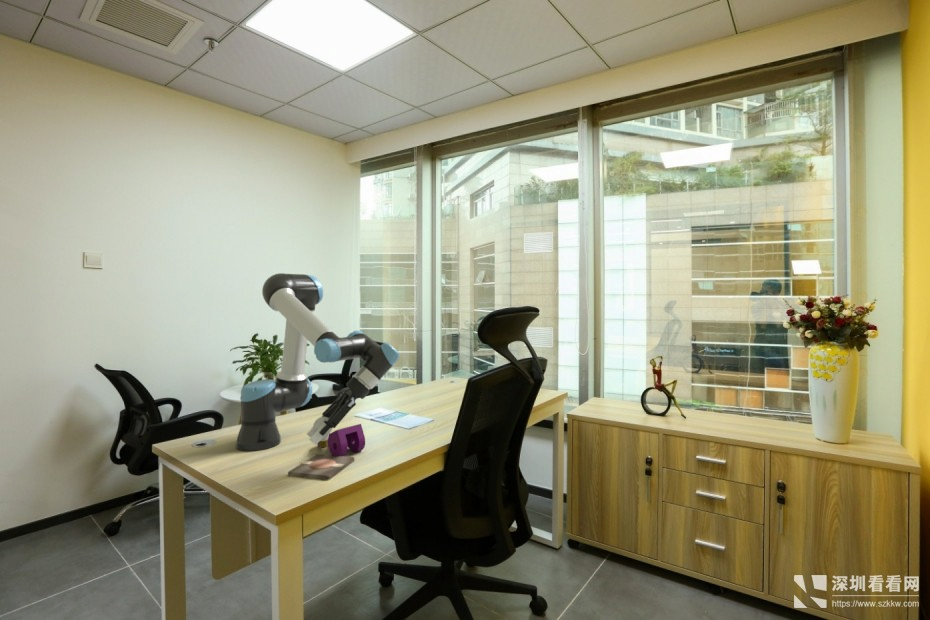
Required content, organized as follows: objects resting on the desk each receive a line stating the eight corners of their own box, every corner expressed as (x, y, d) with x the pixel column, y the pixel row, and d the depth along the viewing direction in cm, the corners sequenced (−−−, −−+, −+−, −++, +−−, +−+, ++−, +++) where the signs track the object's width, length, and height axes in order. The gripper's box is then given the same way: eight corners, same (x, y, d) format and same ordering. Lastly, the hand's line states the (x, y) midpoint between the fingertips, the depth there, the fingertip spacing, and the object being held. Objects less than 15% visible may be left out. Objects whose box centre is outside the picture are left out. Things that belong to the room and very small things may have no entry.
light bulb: (310, 448, 141) (309, 417, 140) (327, 443, 145) (327, 413, 145) (318, 452, 136) (318, 420, 136) (336, 447, 141) (335, 416, 140)
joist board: (288, 475, 135) (288, 471, 135) (316, 457, 150) (316, 453, 150) (329, 479, 132) (329, 475, 131) (354, 460, 147) (354, 456, 147)
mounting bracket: (317, 466, 158) (343, 455, 147) (311, 443, 161) (337, 429, 150) (340, 459, 166) (367, 447, 155) (335, 436, 168) (361, 423, 157)
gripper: (377, 395, 139) (324, 455, 132) (363, 385, 156) (316, 438, 149) (360, 380, 136) (305, 440, 129) (348, 371, 153) (299, 424, 146)
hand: (311, 439), depth 139 cm, fingers closed on light bulb, 6 cm apart
